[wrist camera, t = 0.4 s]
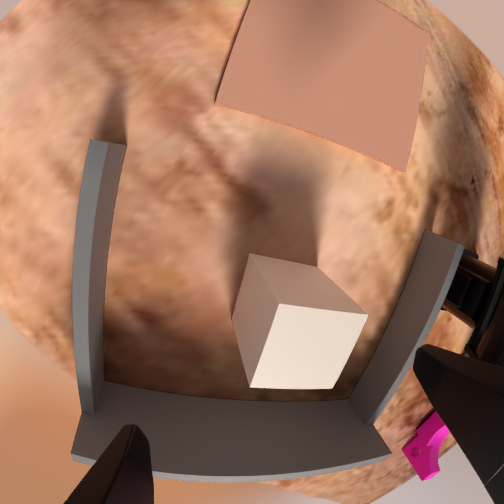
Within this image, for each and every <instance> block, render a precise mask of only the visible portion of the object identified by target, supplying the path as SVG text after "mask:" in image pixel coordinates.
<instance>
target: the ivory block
mask: <svg viewBox="0 0 504 504" xmlns="http://www.w3.org/2000/svg"><path fill="white" fill-rule="evenodd" d="M367 317H368V314H367V313H366V312H365V311H364V310H363V309H362V308H361V307H360V306H359V305H358V304H357V303H356V302H355V301H354V300H352V299H351V298H350V297H349V296H348V295H347V294H346V293H345V292H344V291H343V290H342V289H341V288H340V287H339V286H338V285H336V284H335V283H334V282H333V281H332V280H331V279H330V278H329V277H328V276H327V275H326V274H325V273H324V272H322V271H321V270H320V269H319V268H318V267H316V266H311V265H306V264H301V263H296V262H291V261H286V260H281V259H276V258H271V257H266V256H261V255H256V254H251V253H249V257H248V260H247V264H246V268H245V271H244V275H243V279H242V282H241V286H240V289H239V293H238V297H237V300H236V304H235V308H234V311H233V315H232V319H231V320H232V324H233V328H234V332H235V336H236V340H237V343H238V347H239V351H240V355H241V358H242V362H243V366H244V369H245V373H246V376H247V380H248V383H249V387H251V388H272V389H332V388H333V387H334V385H335V383H336V381H337V379H338V377H339V375H340V374H341V372H342V370H343V368H344V366H345V364H346V362H347V360H348V358H349V356H350V354H351V352H352V350H353V348H354V346H355V344H356V341H357V339H358V337H359V335H360V333H361V331H362V328H363V326H364V324H365V322H366V320H367Z"/></svg>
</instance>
